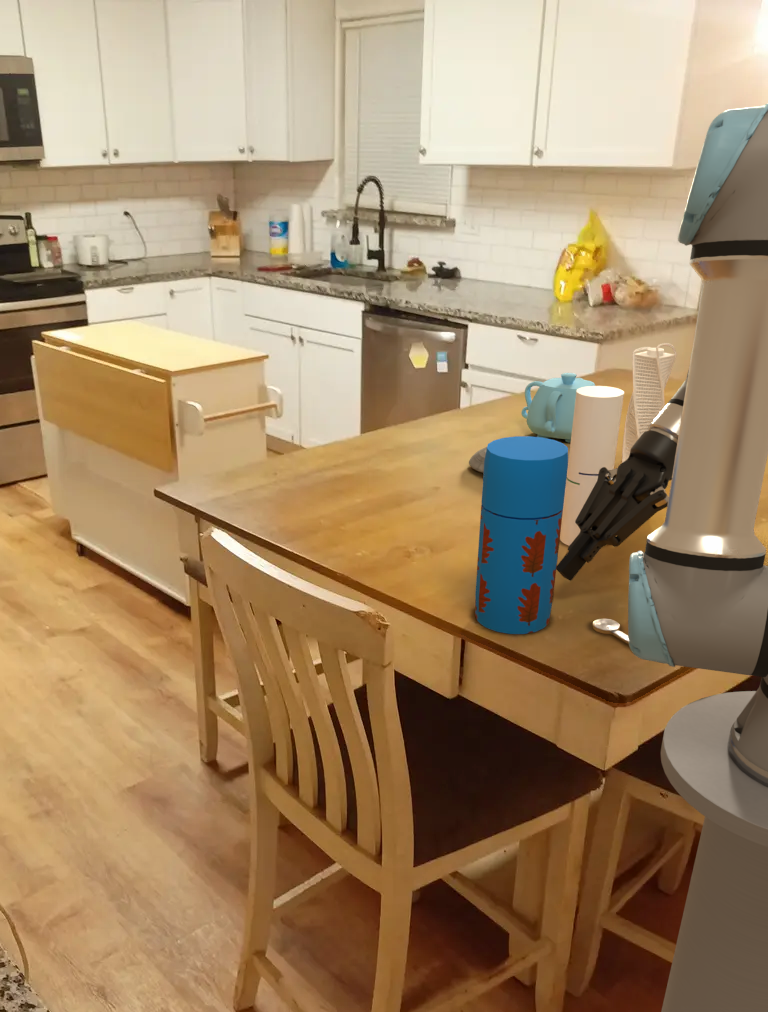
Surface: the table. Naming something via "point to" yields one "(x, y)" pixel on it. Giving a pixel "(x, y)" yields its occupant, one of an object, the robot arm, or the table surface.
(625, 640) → the metal disc paddle
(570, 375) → the decorative pot
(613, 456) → the cylindrical container
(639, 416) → the skyscraper
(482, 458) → the flying saucer
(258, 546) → the table surface
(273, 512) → the table surface
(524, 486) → the thermos
